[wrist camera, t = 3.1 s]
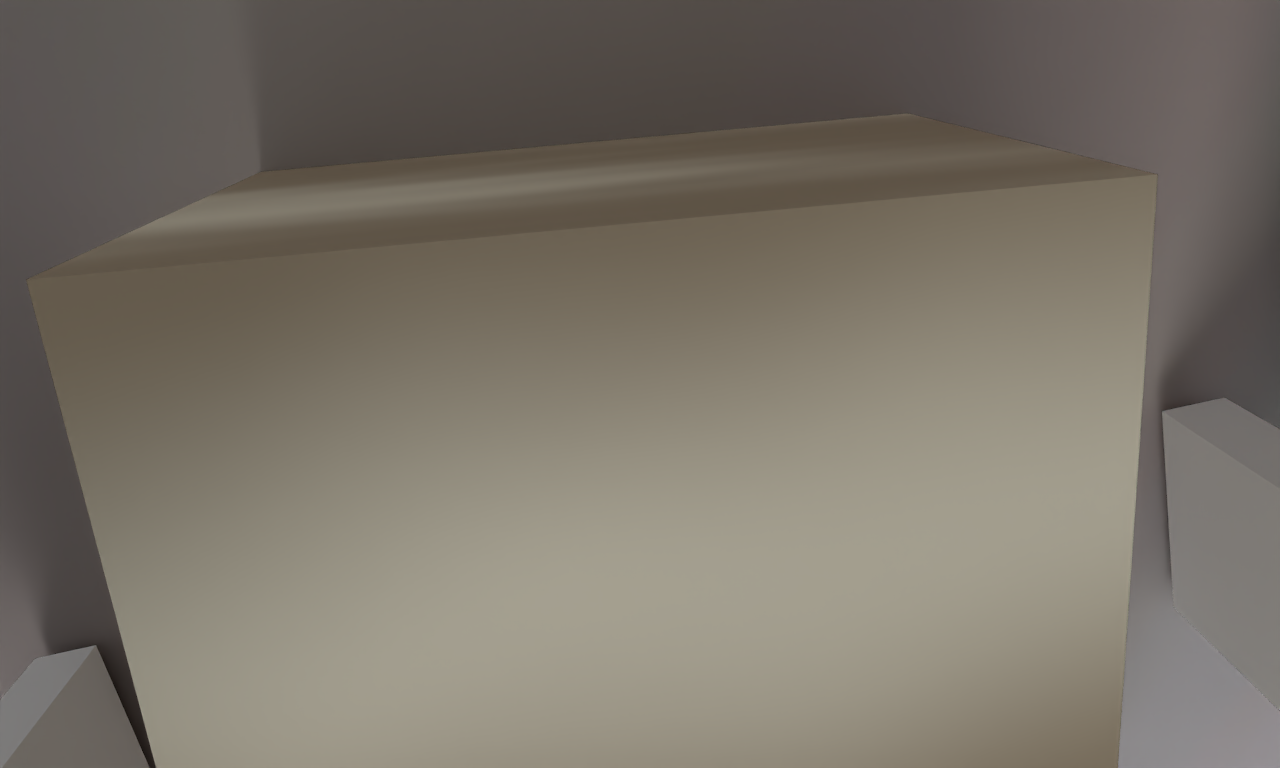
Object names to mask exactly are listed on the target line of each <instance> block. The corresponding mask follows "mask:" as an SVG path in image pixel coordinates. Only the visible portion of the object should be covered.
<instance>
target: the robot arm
mask: <svg viewBox="0 0 1280 768" xmlns="http://www.w3.org/2000/svg"><path fill="white" fill-rule="evenodd" d="M1162 419H1163V436H1164V453H1165V470H1166V487H1167V504H1168V521H1169V538H1170V555H1171V572H1172V589H1173V606H1174V609H1175V610H1177V611H1178V612H1179V613H1180V614H1181V615H1182V616H1183V617H1184V618H1185V619H1186V620H1187V621H1188V622H1189V623H1190V624H1191V625H1192V626H1193V627H1194V628H1195V629H1196V630H1197V631H1198V632H1199V633H1200V634H1201V635H1202V636H1203V637H1204V638H1205V639H1206V640H1207V641H1208V642H1209V643H1210V644H1211V645H1212V646H1214V647H1215V648H1216V649H1217V650H1218V651H1219V652H1220V653H1221V654H1222V655H1223V656H1224V657H1225V658H1226V659H1227V660H1228V661H1229V662H1230V663H1231V664H1232V665H1233V666H1234V667H1235V668H1236V669H1237V670H1238V671H1239V672H1240V673H1241V674H1242V675H1243V676H1244V677H1245V678H1246V679H1247V680H1248V681H1249V682H1250V683H1252V684H1253V685H1254V686H1255V687H1256V688H1257V689H1258V690H1259V691H1260V692H1261V693H1262V694H1263V695H1264V696H1265V697H1266V698H1267V699H1268V700H1269V701H1270V702H1271V703H1272V704H1273V705H1274V706H1275V707H1276V708H1277V709H1278V710H1279V711H1280V429H1278V428H1277V427H1275V426H1273V425H1272V424H1270V423H1268V422H1266V421H1265V420H1263V419H1261V418H1259V417H1258V416H1256V415H1254V414H1252V413H1251V412H1249V411H1247V410H1245V409H1244V408H1242V407H1240V406H1238V405H1237V404H1235V403H1233V402H1231V401H1230V400H1228V399H1226V398H1220V399H1215V400H1211V401H1206V402H1202V403H1197V404H1193V405H1188V406H1184V407H1179V408H1174V409H1170V410H1165V411H1162ZM0 768H149V765H148V763H147V761H146V759H145V756H144V754H143V752H142V749H141V747H140V745H139V743H138V740H137V738H136V736H135V733H134V731H133V729H132V726H131V724H130V722H129V720H128V717H127V715H126V713H125V710H124V708H123V706H122V704H121V701H120V699H119V697H118V694H117V692H116V690H115V687H114V685H113V683H112V681H111V678H110V676H109V674H108V671H107V669H106V667H105V665H104V662H103V660H102V658H101V655H100V653H99V651H98V648H97V646H96V645H94V646H90V647H85V648H81V649H76V650H72V651H67V652H62V653H58V654H53V655H49V656H44V657H40V658H35V659H34V660H33V662H32V663H31V664H30V665H29V666H28V668H27V669H26V670H25V671H24V672H23V673H22V675H21V676H20V677H19V678H18V679H17V680H16V682H15V683H14V684H13V685H12V686H11V688H10V689H9V690H8V691H7V692H6V693H5V695H4V696H3V697H2V698H1V699H0Z"/></svg>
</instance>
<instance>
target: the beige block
mask: <svg viewBox="0 0 1280 768" xmlns="http://www.w3.org/2000/svg"><path fill="white" fill-rule="evenodd" d="M1157 180H1158V174H1154V173H1150V172H1145V171H1141V170H1137V169H1133V168H1129V167H1125V166H1121V165H1117V164H1113V163H1109V162H1105V161H1101V160H1096V159H1092V158H1088V157H1084V156H1080V155H1076V154H1072V153H1068V152H1064V151H1060V150H1056V149H1052V148H1047V147H1043V146H1039V145H1035V144H1031V143H1027V142H1023V141H1019V140H1015V139H1011V138H1007V137H1003V136H998V135H994V134H990V133H986V132H982V131H978V130H974V129H970V128H966V127H962V126H958V125H953V124H949V123H945V122H941V121H937V120H933V119H929V118H925V117H921V116H917V115H913V114H909V113H907V114H895V115H884V116H873V117H862V118H851V119H840V120H829V121H818V122H807V123H796V124H785V125H774V126H763V127H752V128H741V129H729V130H718V131H707V132H696V133H685V134H674V135H663V136H652V137H641V138H630V139H619V140H608V141H597V142H586V143H575V144H563V145H552V146H541V147H530V148H519V149H508V150H497V151H486V152H475V153H464V154H453V155H442V156H431V157H420V158H409V159H397V160H386V161H375V162H364V163H353V164H342V165H331V166H320V167H309V168H298V169H287V170H276V171H265V172H260V173H257V174H255V175H253V176H251V177H249V178H247V179H244V180H242V181H240V182H238V183H236V184H233V185H231V186H229V187H227V188H225V189H223V190H220V191H218V192H216V193H214V194H212V195H209V196H207V197H205V198H203V199H201V200H199V201H196V202H194V203H192V204H190V205H188V206H186V207H183V208H181V209H179V210H177V211H175V212H172V213H170V214H168V215H166V216H164V217H162V218H159V219H157V220H155V221H153V222H151V223H148V224H146V225H144V226H142V227H140V228H138V229H135V230H133V231H131V232H129V233H127V234H124V235H122V236H120V237H118V238H116V239H114V240H111V241H109V242H107V243H105V244H103V245H100V246H98V247H96V248H94V249H92V250H90V251H87V252H85V253H83V254H81V255H79V256H77V257H74V258H72V259H70V260H68V261H66V262H63V263H61V264H59V265H57V266H55V267H53V268H50V269H48V270H46V271H44V272H42V273H39V274H37V275H35V276H33V277H31V278H29V279H26V282H27V285H28V289H29V293H30V297H31V300H32V304H33V308H34V312H35V315H36V319H37V323H38V327H39V330H40V334H41V338H42V342H43V345H44V349H45V353H46V357H47V360H48V364H49V368H50V372H51V375H52V379H53V383H54V387H55V390H56V394H57V398H58V402H59V405H60V409H61V413H62V417H63V420H64V424H65V428H66V432H67V435H68V439H69V443H70V447H71V450H72V454H73V458H74V462H75V465H76V469H77V473H78V477H79V480H80V484H81V488H82V492H83V495H84V499H85V503H86V507H87V510H88V514H89V518H90V522H91V525H92V529H93V533H94V537H95V540H96V544H97V548H98V552H99V555H100V559H101V563H102V567H103V570H104V574H105V578H106V582H107V585H108V589H109V593H110V597H111V600H112V604H113V608H114V612H115V615H116V619H117V623H118V627H119V630H120V634H121V638H122V642H123V645H124V649H125V653H126V657H127V660H128V664H129V668H130V672H131V675H132V679H133V683H134V687H135V690H136V694H137V698H138V702H139V706H140V709H141V713H142V717H143V721H144V724H145V728H146V732H147V736H148V739H149V743H150V747H151V751H152V754H153V758H154V762H155V766H156V768H1118V756H1119V741H1120V726H1121V712H1122V697H1123V682H1124V667H1125V652H1126V638H1127V623H1128V608H1129V593H1130V579H1131V564H1132V549H1133V534H1134V520H1135V505H1136V490H1137V475H1138V461H1139V446H1140V431H1141V416H1142V401H1143V387H1144V372H1145V357H1146V342H1147V328H1148V313H1149V298H1150V283H1151V269H1152V254H1153V239H1154V224H1155V210H1156V195H1157Z"/></svg>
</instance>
